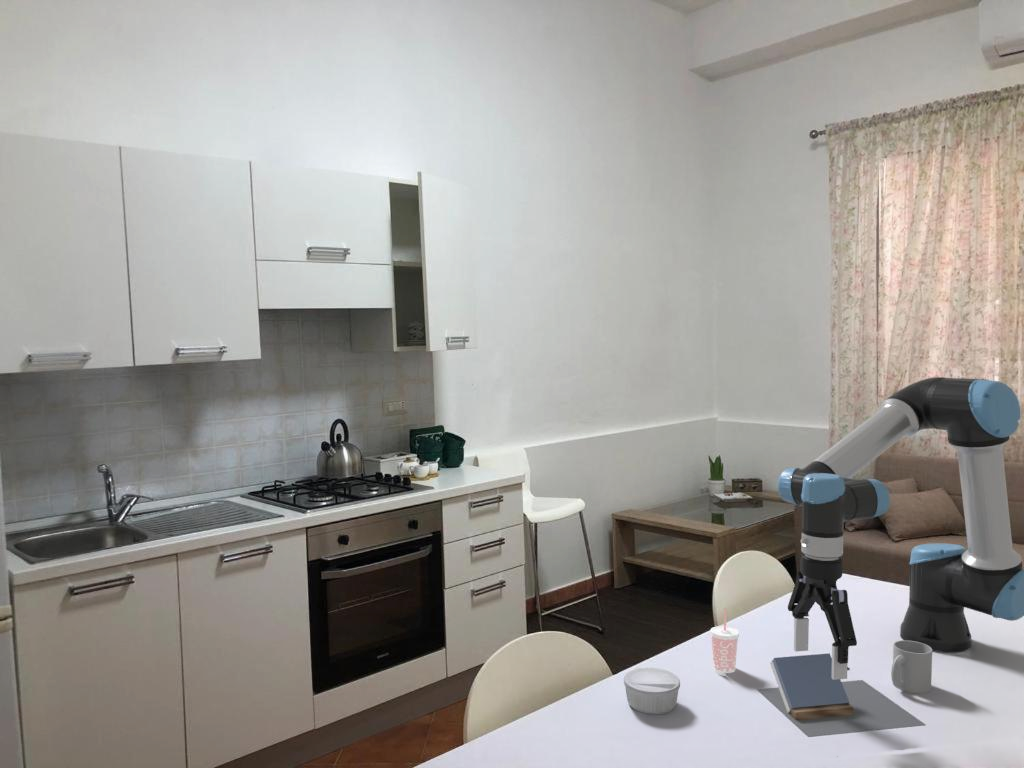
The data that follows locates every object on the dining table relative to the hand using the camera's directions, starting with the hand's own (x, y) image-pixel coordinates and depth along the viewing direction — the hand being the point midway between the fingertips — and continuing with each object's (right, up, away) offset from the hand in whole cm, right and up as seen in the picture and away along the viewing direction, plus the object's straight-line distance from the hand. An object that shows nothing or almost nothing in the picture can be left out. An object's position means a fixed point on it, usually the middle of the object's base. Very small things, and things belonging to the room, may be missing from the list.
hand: (819, 664), depth 158 cm
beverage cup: (-13, -9, +21) cm, 26 cm away
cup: (+22, -10, +11) cm, 27 cm away
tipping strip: (0, -10, -1) cm, 10 cm away
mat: (+5, -10, +3) cm, 11 cm away
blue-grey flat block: (0, -9, 0) cm, 9 cm away
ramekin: (-31, -10, +6) cm, 34 cm away
